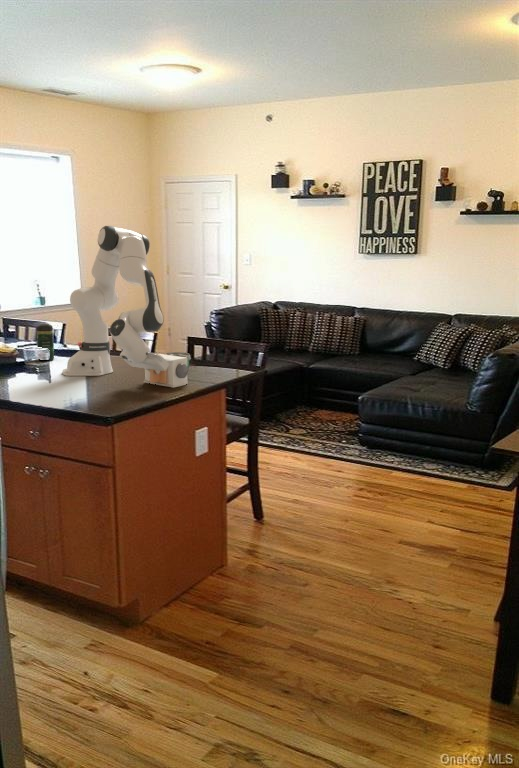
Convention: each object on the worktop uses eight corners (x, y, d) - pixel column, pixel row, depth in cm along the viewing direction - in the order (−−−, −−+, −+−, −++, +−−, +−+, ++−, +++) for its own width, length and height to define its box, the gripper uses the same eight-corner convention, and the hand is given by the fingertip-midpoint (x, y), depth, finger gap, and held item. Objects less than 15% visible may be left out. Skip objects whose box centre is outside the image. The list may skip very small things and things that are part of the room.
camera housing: (143, 383, 276) (143, 356, 274) (159, 379, 284) (159, 353, 282) (174, 388, 266) (174, 361, 264) (190, 384, 274) (190, 357, 272)
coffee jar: (54, 361, 325) (52, 324, 322) (38, 361, 323) (36, 324, 319) (54, 358, 334) (52, 322, 331) (38, 358, 332) (36, 322, 328)
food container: (195, 375, 296) (195, 353, 294) (189, 377, 291) (188, 355, 289) (173, 372, 301) (172, 351, 299) (165, 374, 296) (165, 353, 294)
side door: (144, 382, 270) (143, 362, 268) (152, 380, 274) (151, 361, 272) (158, 385, 265) (158, 364, 263) (166, 383, 269) (166, 363, 267)
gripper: (161, 348, 254) (178, 369, 264) (124, 343, 266) (141, 363, 276) (153, 360, 252) (170, 381, 262) (116, 355, 263) (134, 375, 273)
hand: (155, 372), depth 269 cm, fingers closed on side door, 2 cm apart
